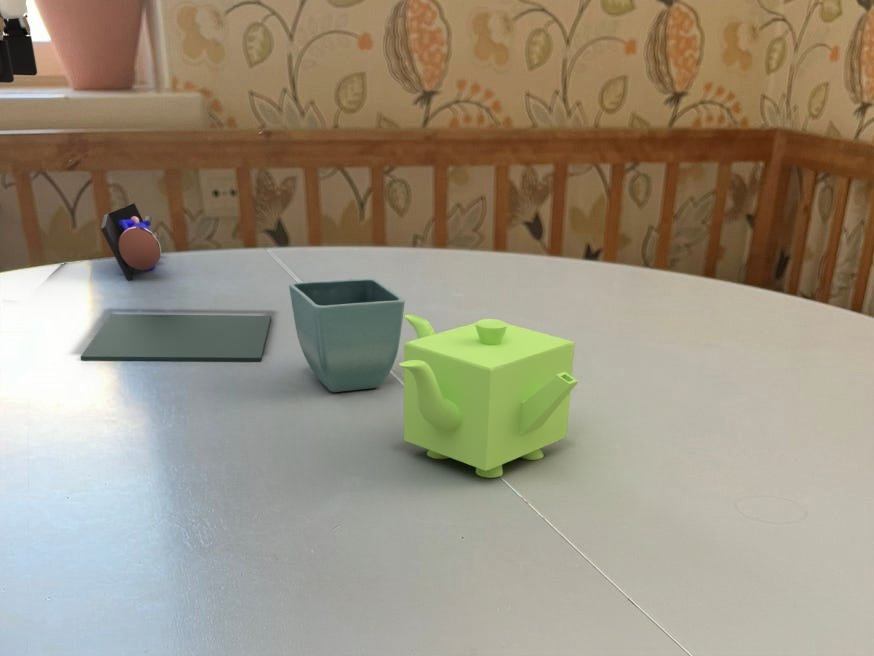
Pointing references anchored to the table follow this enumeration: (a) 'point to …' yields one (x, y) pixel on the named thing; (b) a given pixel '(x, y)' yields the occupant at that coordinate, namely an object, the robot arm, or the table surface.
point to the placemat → (180, 338)
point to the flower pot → (348, 330)
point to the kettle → (486, 392)
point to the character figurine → (131, 239)
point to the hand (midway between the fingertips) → (11, 78)
